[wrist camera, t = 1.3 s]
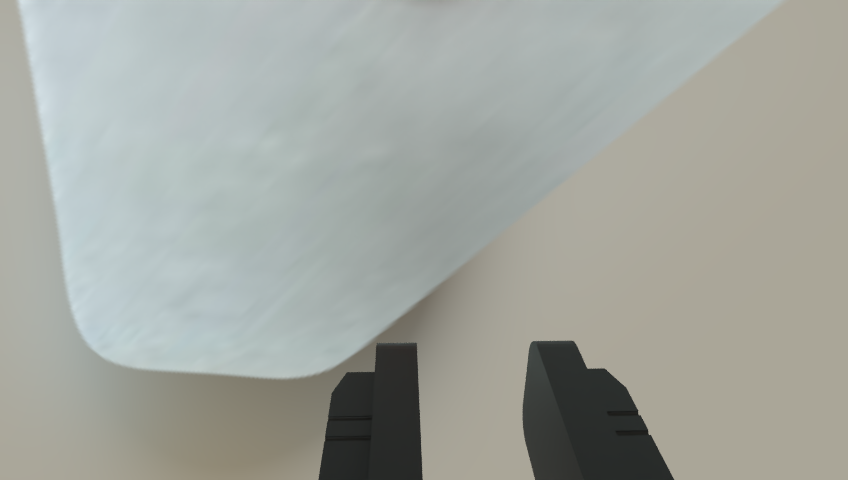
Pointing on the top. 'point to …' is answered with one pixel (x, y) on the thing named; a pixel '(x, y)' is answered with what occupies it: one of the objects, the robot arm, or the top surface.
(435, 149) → the top surface
